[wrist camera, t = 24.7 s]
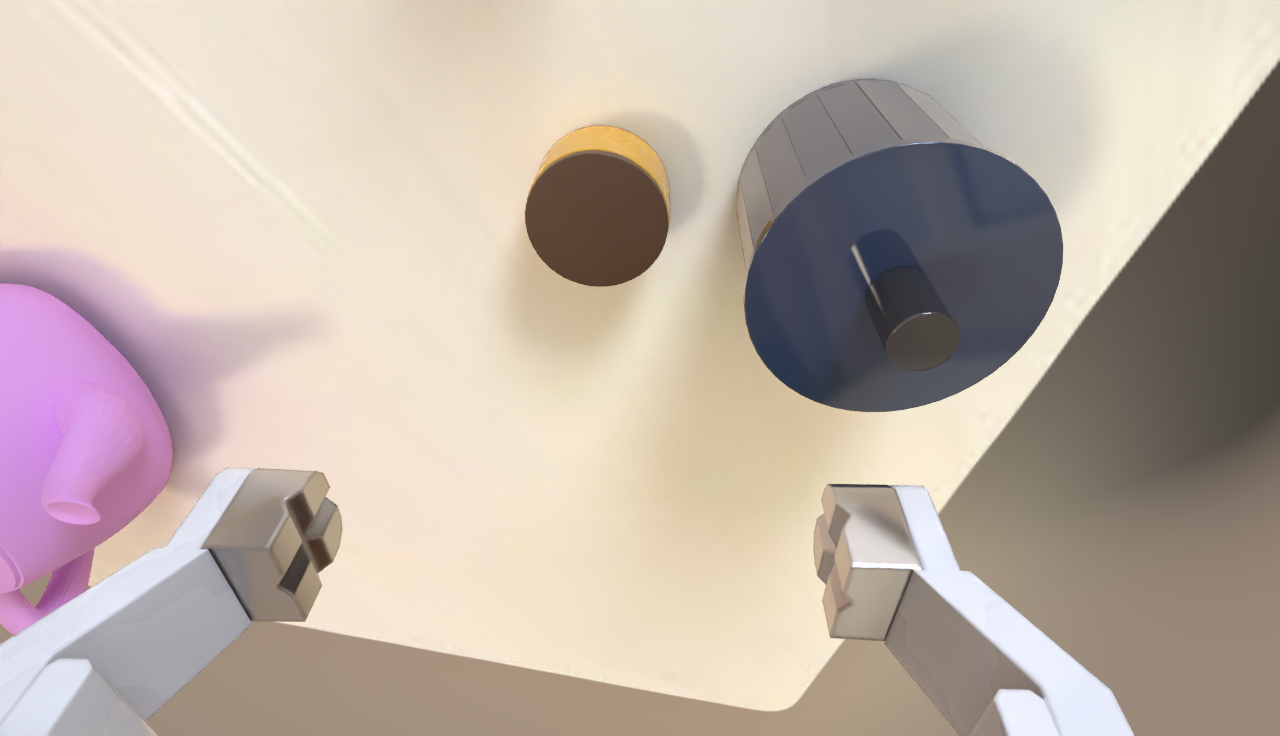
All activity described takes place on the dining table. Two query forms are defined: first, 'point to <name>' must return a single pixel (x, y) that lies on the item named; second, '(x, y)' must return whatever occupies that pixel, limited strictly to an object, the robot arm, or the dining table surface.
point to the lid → (902, 274)
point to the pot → (831, 141)
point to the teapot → (67, 449)
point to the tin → (599, 206)
